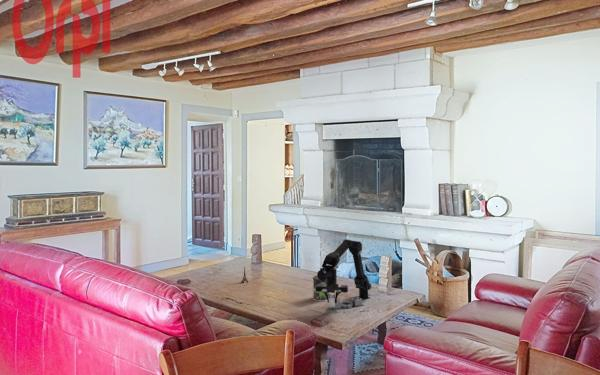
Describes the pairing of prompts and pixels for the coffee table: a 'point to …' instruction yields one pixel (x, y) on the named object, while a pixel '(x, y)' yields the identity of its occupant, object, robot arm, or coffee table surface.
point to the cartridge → (331, 300)
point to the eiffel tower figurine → (244, 276)
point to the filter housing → (347, 304)
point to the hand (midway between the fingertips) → (331, 302)
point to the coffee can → (319, 295)
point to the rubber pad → (331, 311)
